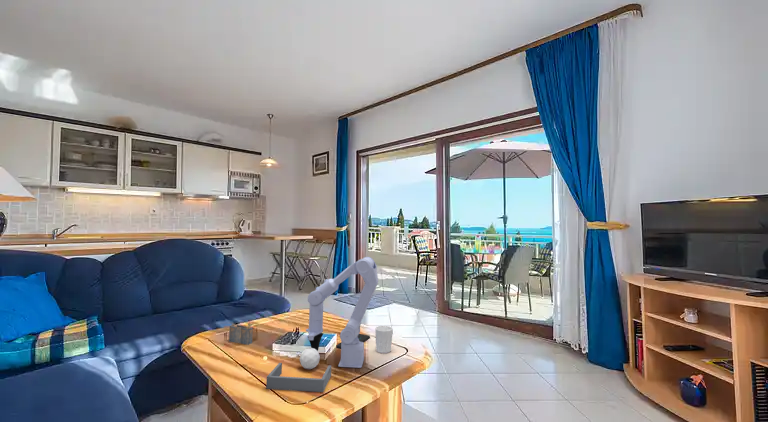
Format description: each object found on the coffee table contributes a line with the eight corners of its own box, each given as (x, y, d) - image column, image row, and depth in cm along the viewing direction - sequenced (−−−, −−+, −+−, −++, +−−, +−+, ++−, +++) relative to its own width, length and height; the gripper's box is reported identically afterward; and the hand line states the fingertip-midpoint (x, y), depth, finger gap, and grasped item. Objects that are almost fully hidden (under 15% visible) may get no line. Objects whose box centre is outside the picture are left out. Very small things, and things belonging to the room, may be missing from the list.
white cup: (372, 352, 151) (372, 329, 151) (378, 346, 158) (379, 324, 158) (388, 355, 148) (388, 332, 148) (394, 348, 155) (395, 327, 155)
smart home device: (370, 335, 169) (350, 348, 151) (370, 338, 169) (350, 352, 151) (356, 332, 172) (335, 345, 154) (356, 336, 172) (335, 349, 154)
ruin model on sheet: (252, 343, 158) (253, 322, 158) (248, 345, 155) (249, 324, 156) (233, 340, 162) (234, 319, 162) (228, 342, 159) (229, 321, 159)
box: (331, 376, 126) (331, 365, 126) (323, 392, 114) (323, 380, 114) (279, 373, 127) (279, 362, 127) (266, 388, 115) (266, 376, 115)
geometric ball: (312, 376, 131) (314, 365, 127) (295, 367, 133) (296, 355, 128) (322, 360, 137) (324, 349, 133) (305, 351, 139) (307, 340, 134)
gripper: (311, 314, 148) (310, 345, 148) (301, 323, 134) (300, 358, 133) (327, 314, 148) (326, 345, 147) (318, 324, 133) (317, 359, 133)
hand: (314, 351), depth 140 cm, fingers closed
